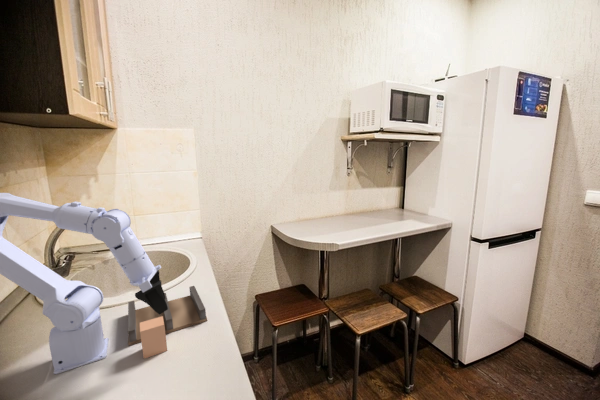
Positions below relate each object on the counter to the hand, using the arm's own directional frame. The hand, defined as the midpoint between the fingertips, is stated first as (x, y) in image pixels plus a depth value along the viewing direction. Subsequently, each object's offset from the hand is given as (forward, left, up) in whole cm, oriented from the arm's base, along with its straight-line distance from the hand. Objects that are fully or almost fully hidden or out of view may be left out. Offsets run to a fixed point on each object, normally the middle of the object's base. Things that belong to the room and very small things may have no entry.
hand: (162, 305), depth 68 cm
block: (-3, -1, -10) cm, 11 cm away
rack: (+1, +12, -10) cm, 16 cm away
